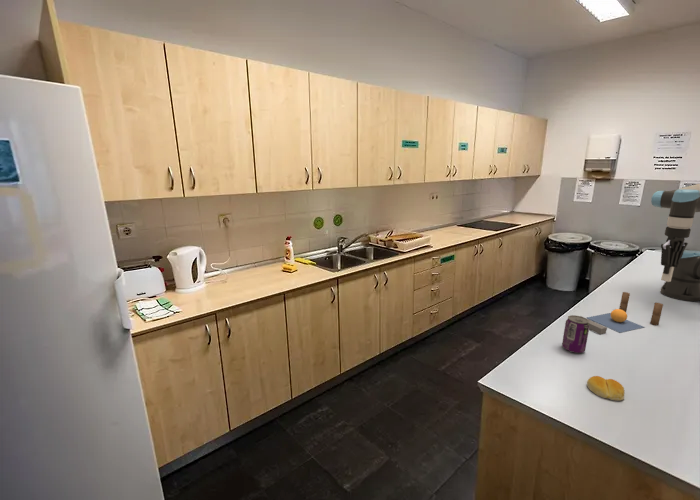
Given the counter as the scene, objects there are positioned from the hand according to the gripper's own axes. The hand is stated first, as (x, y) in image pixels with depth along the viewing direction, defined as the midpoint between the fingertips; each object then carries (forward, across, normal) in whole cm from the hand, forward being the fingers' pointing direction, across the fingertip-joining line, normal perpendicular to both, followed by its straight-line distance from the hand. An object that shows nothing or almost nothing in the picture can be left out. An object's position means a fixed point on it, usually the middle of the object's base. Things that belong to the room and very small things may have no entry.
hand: (665, 280), depth 145 cm
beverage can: (+16, +62, +10) cm, 65 cm away
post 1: (+15, +13, -6) cm, 21 cm away
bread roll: (+16, +74, +30) cm, 82 cm away
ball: (+13, +25, 0) cm, 28 cm away
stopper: (+15, +41, 0) cm, 44 cm away
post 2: (+15, +13, +6) cm, 21 cm away
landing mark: (+15, +27, 0) cm, 31 cm away
